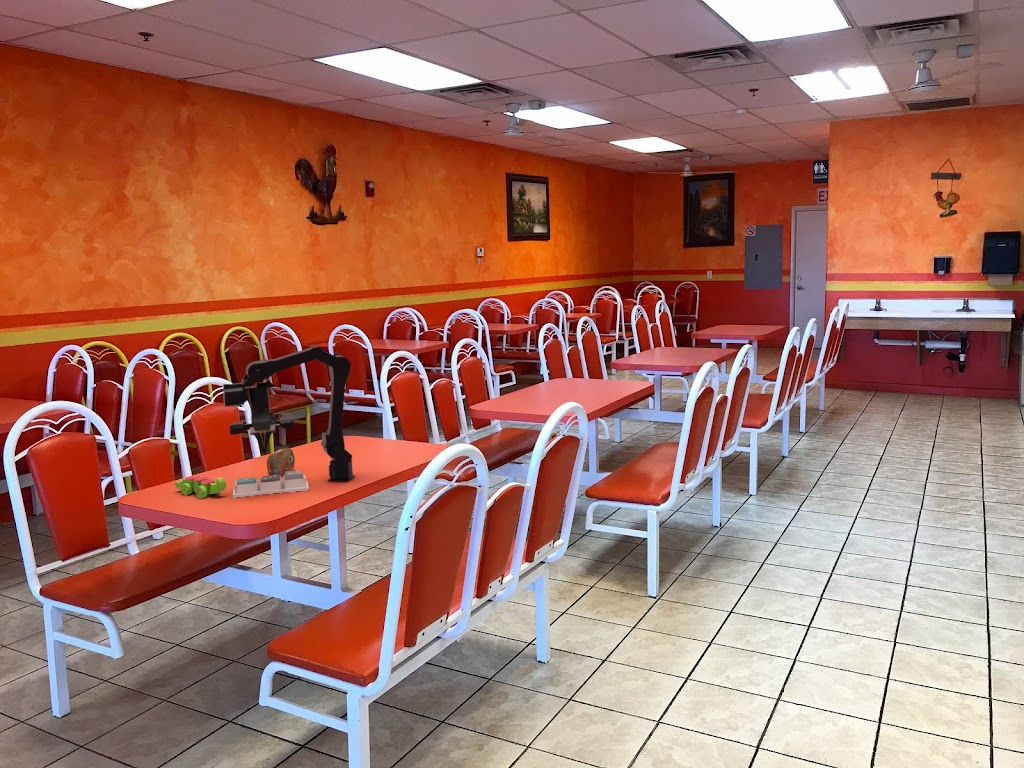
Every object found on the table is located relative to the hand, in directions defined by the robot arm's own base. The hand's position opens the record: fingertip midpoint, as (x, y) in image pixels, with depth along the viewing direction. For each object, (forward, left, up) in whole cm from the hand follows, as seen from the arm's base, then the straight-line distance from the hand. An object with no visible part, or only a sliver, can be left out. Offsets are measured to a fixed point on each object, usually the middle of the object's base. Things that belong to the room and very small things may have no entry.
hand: (264, 453), depth 257 cm
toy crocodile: (+18, +8, -12) cm, 23 cm away
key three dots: (-2, +2, -10) cm, 10 cm away
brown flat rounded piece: (+5, -17, -12) cm, 21 cm away
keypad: (-2, +2, -11) cm, 12 cm away
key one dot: (+4, +6, -10) cm, 12 cm away
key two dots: (-9, -1, -9) cm, 12 cm away
